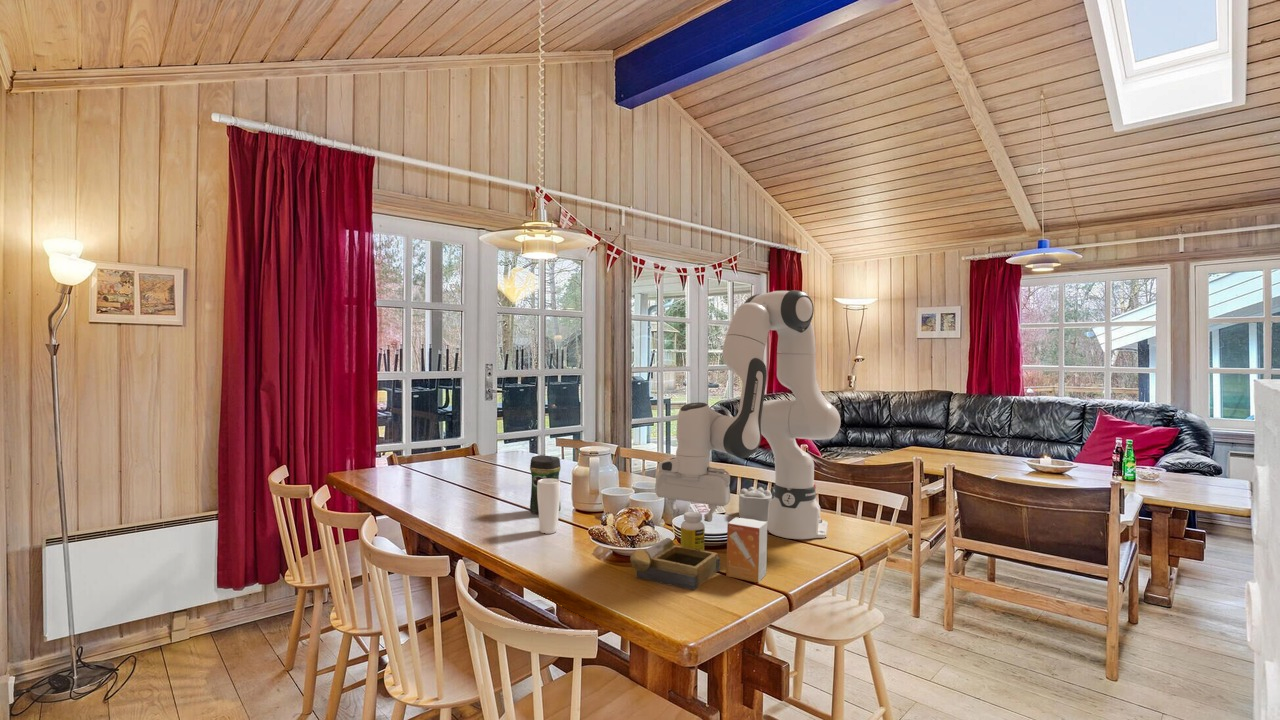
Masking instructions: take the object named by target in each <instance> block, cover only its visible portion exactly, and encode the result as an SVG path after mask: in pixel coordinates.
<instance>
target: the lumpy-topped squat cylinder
mask: <svg viewBox="0 0 1280 720" xmlns="http://www.w3.org/2000/svg"><path fill="white" fill-rule="evenodd" d="M772 499H773V494H772V492H771V490H769V489H766V490H764V488H763V487H761V486H759V487H758V488H755V487H754V486H750V487H748V489H747V488H745V487H744V488H741V489H740V492H739V494H738V518H739V517H740V518H745V519H753V520H758V521H765V522H767V520H768V506H769V501H771V500H772Z"/></svg>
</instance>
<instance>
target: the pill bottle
mask: <svg viewBox="0 0 1280 720" xmlns="http://www.w3.org/2000/svg"><path fill="white" fill-rule="evenodd" d="M683 520H684V521H682V522H681V524H680V546H682V547H687V548H693V549H698V550H703V551H705V531H706V530H705V528H706V527H705V524H704V522H702V520H703V514H702V513H700V512H697V511H687V512H685V513H683Z"/></svg>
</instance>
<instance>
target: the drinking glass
mask: <svg viewBox="0 0 1280 720" xmlns="http://www.w3.org/2000/svg"><path fill="white" fill-rule="evenodd" d="M561 489H562V488H561V480H560V479H559V480H558V479H551V478H549V479H541V480H538V483H537V499H538V512H539V514H538V523H539V524H538V525H539V528H538V529H539V532H540V533H542V534H544V533H545V534H546V535H549V534H550V535H551V534H555V533H557V532H558V530H559V515H560V513H559V512H560V511H559V505H560V506H561V491H562V490H561Z"/></svg>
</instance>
